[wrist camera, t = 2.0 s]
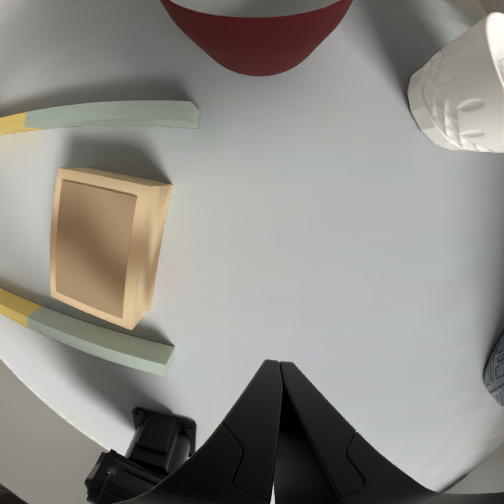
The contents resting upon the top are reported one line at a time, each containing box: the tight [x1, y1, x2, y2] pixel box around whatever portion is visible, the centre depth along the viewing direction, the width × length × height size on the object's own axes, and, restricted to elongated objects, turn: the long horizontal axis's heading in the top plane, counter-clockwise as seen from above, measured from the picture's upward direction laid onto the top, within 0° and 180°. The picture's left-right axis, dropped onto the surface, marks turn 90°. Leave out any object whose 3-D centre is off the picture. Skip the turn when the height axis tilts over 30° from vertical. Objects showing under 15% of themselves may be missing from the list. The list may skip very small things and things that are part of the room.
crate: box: [50, 168, 173, 330], centre depth 17 cm, size 9×7×4 cm
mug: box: [160, 0, 353, 76], centre depth 10 cm, size 11×8×10 cm
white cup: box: [407, 12, 504, 153], centre depth 10 cm, size 8×8×10 cm
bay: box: [0, 100, 201, 377], centre depth 17 cm, size 18×28×2 cm, turn 81°
